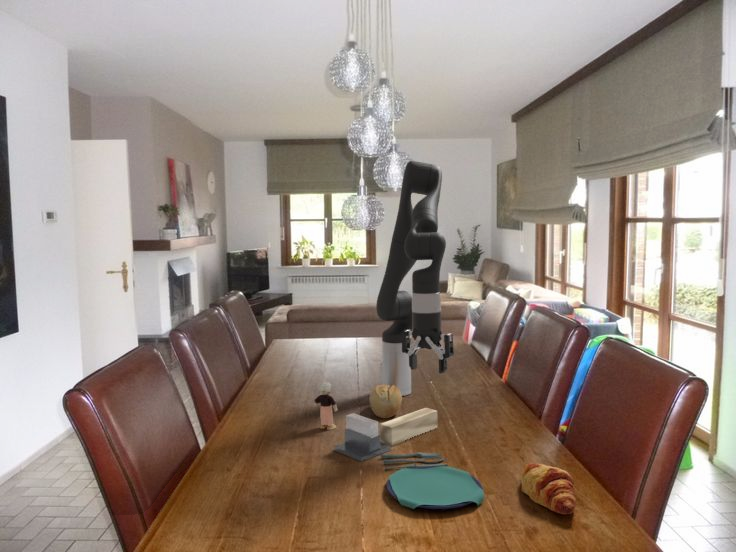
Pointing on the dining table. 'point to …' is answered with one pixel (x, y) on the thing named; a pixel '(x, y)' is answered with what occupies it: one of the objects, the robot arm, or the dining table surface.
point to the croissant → (549, 487)
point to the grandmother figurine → (326, 406)
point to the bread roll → (385, 400)
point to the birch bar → (408, 426)
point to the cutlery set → (432, 484)
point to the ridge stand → (361, 438)
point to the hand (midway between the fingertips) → (427, 371)
